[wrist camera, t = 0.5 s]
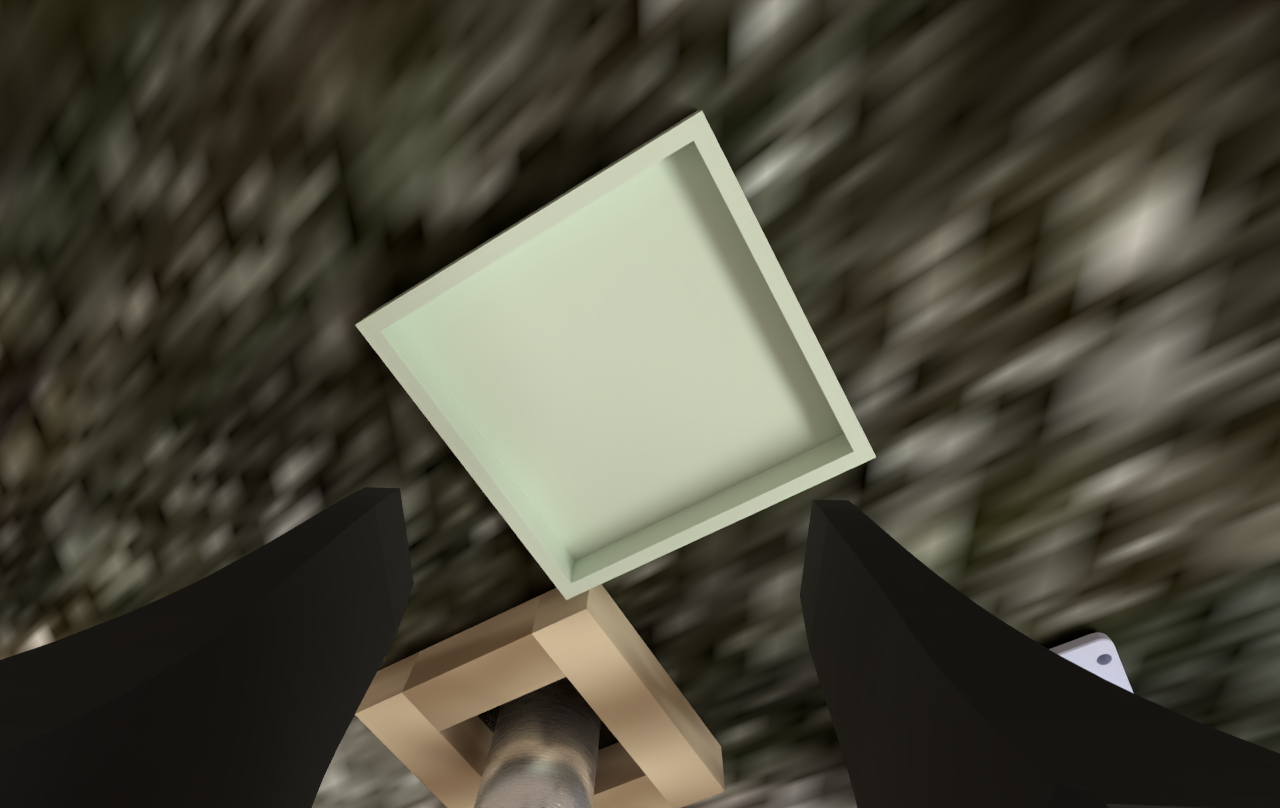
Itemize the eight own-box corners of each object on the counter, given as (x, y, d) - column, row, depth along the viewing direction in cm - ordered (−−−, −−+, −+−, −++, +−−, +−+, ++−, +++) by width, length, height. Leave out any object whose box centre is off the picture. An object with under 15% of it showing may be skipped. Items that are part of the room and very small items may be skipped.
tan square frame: (720, 746, 28) (725, 791, 26) (518, 823, 30) (509, 870, 28) (592, 571, 25) (586, 608, 23) (375, 672, 27) (354, 714, 25)
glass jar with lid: (620, 724, 28) (605, 947, 20) (537, 757, 29) (495, 983, 21) (566, 657, 26) (531, 871, 19) (481, 694, 27) (416, 912, 20)
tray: (859, 430, 22) (876, 457, 21) (572, 566, 25) (566, 599, 23) (698, 109, 18) (702, 110, 17) (379, 307, 21) (355, 324, 19)
